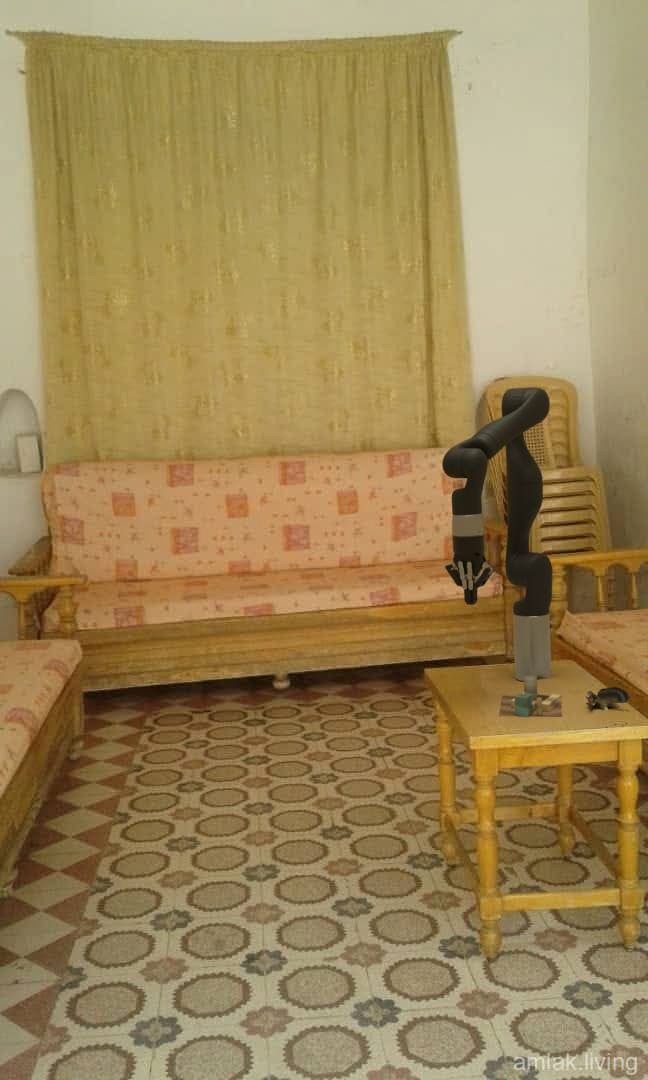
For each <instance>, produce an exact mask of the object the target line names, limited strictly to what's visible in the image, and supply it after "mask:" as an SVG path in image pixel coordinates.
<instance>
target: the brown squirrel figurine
mask: <svg viewBox="0 0 648 1080" xmlns="http://www.w3.org/2000/svg"><path fill="white" fill-rule="evenodd" d="M586 694H587V696H584V698H586V699H587V702H585V705H587V706H588V709H589V710H595V709H597V708H600V709H601V710H602V711H609V709H608V708H613V709H620V708H621V705H619V704H625V703H628V701H629V700H630V699H631V698H630V696H629V693H628V692H627V691H626V690H625V689H623V688H620V687H617V686H612V687H611V686H610V687H607V688H606V687H604V688H601V689H600V690H598V692H597V693H596V694H595V692H593V691H592V690H587V691H586Z"/></svg>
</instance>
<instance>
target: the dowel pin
mask: <svg viewBox="0 0 648 1080" xmlns="http://www.w3.org/2000/svg"><path fill="white" fill-rule="evenodd" d="M537 716H542V698H537Z"/></svg>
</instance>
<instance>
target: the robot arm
mask: <svg viewBox="0 0 648 1080" xmlns="http://www.w3.org/2000/svg"><path fill="white" fill-rule="evenodd" d="M548 395H549V394H548V392H547V391H546V390H545V389H543V388H541V387H535V386H534V387H517V388H510V389H507V390H506V391H504V393H503V396H502V399H501V417H499V418H497V419H494V420H493V421H490V422H489V423H487V424H485V425H484V426H483V427H481V428H480V429H479V430H478V431H477V432H476V433H475V434H473V435H472V436H471V437H470V438H468V439H465V440H463V441H461V442H459V443H458V444H456V445H454V446H453V447H451V448H450V449H448V450H447V452H446V453H445V454H444V456H443V458H442V465H441V466H442V470H443V472H444V474H445V475H446V476H447V477H449V478H451V479H466V481H465V485H464V487H462V488H457V489H455V490H454V491H452V493H451V514H452V517H451V536H452V552H453V558H452V562H451V563H449V564H447V565H445V567H444V569H445V570H446V572H447V573H448V574H449V577H451V579H452V580H453V582H454V583H455V585H456V586H457V587H460V588H462V589H463V596H464V602H465V604H466V605H468V606H474V605H476V604H477V602H478V588H481V587H484V586H485V585H486V584H487V582H488V580H489V579H490V577H491V576H492V574H494V571H495V567H494V566H490V565H489V564H488V562H487V560H486V559H487V558H486V556H485V550H486V548H485V543H486V542H485V524H484V523H485V522H484V517H483V503H482V502H483V501H482V495H483V489H484V485H485V480H486V476H487V472H488V465H489V464H488V461H490V460H491V459H492V458H494V457H495V456H496V455H497V454H498V453H500V451H501V450H502V449H503V448H504V449H505V461H506V462H505V464H506V465H505V467H506V471H505V473H506V477H505V478H506V480H505V481H506V503H507V504H506V505H507V507H506V509H507V529H506V530H507V534H506V535H507V536H506V546H505V547H506V548H505V566H504V567H505V574H506V578H507V580H508V581H509V583H510V584H511V585H513V586H516V587H522V588H523V587H524V588H525V596H524V597H523V598H522V599H519V600H517V601H515V602H514V603H513V604H512V611H513V612H512V614H513V615H512V617H513V621H512V622H513V643H514V644H513V645H514V647H513V648H514V653H513V654H514V679H516V680H518V681H522V682H524V676H525V675H535V676H537V681H538V680H545V679H546V680H547V679H551V678H552V672H551V671H552V669H551V667H552V666H551V665H552V663H551V661H552V660H551V631H550V630H551V624H550V623H551V622H550V606H551V603H552V599H553V566H552V562H551V560H550V558H549V556H548V555H547V554H545V553H542V552H534V551H530V533H531V529H532V527H533V523H534V522H535V519H537V516H538V514H539V512H540V510H541V507H542V505H543V502H544V480H543V479H544V477H543V473H542V471H541V469H540V467H539V465H538V463H537V462H536V459H535V458H534V457H533V455H532V453H531V452H530V450H529V449H528V446H527V443H526V440H525V435H524V433H525V432H527V431H529V429H532V428H533V427H535V426H537V425H539V424H540V423H542V422H543V421H545V419H546V418H547V416H548V415H549V413H550V407H551V406H550V405H551V404H550V403H551V401H550V397H549V396H548Z"/></svg>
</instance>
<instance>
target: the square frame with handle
mask: <svg viewBox="0 0 648 1080" xmlns="http://www.w3.org/2000/svg"><path fill="white" fill-rule="evenodd" d="M514 696H515V698H514V699H513V700H511V708H515V715H517V716H516V717H527V718H528V716H529V715H531V714H532V713H533V712H534V711H537V701H534V700H532V694H524V691H523V692H520V693H517V694H516V695H514ZM537 698H542V712H549V711H551V710H552V709H553V708H555V707H556V706H557V705H558V704H560V703H561V704H562V694H558V693H550V692H549V693H548V692H538V691H537Z"/></svg>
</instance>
